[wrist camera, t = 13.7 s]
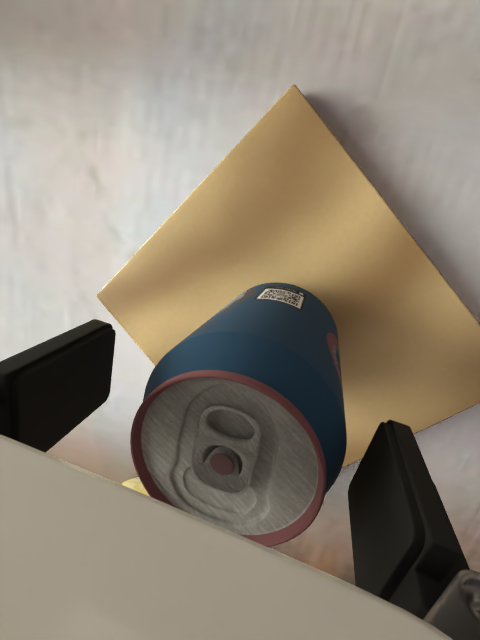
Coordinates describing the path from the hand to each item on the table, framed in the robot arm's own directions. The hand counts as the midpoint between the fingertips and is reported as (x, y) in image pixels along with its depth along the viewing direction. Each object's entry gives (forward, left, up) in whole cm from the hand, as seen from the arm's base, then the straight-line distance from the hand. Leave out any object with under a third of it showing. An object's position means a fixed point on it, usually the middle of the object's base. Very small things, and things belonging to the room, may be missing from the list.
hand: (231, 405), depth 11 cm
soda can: (+1, 0, -10) cm, 10 cm away
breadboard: (+1, 0, -11) cm, 11 cm away
